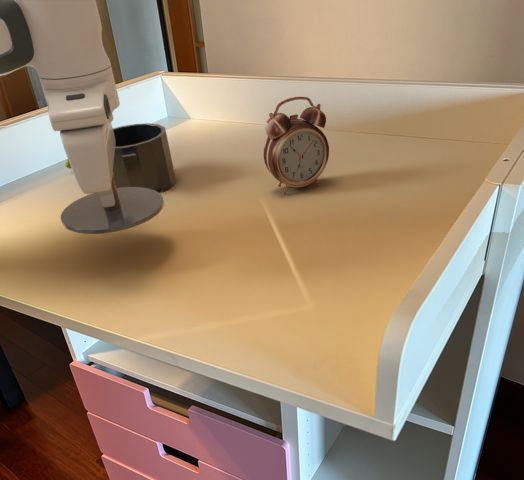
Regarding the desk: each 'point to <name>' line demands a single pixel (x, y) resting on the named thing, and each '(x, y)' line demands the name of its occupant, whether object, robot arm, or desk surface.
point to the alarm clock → (296, 146)
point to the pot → (143, 157)
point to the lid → (112, 211)
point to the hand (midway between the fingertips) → (110, 199)
